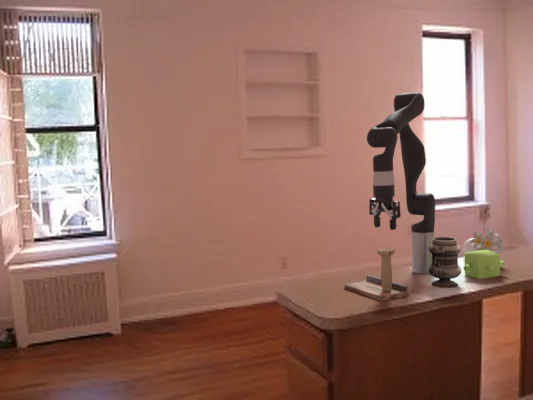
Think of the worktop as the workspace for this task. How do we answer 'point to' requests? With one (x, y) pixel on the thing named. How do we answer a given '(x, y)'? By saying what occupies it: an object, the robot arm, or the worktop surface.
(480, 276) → the gearbox
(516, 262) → the worktop surface
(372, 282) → the board
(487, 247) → the flower vase
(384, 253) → the handle
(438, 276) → the apothecary jar
